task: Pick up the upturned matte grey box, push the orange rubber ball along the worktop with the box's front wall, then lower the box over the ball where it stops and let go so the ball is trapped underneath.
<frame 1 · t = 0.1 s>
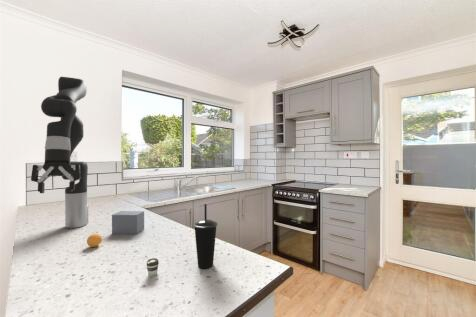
hand: (56, 192, 82), 22 cm above the counter, tool pointing down, fingers open, 8 cm apart
matte grey box: (128, 231, 105), on the counter
ball: (94, 240, 87), on the counter
drinking cup: (205, 266, 71), on the counter
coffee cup: (152, 277, 66), on the counter
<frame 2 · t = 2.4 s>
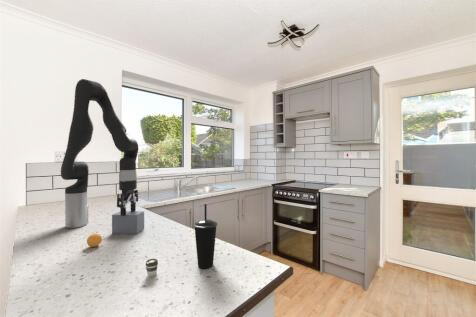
hand: (128, 213, 104), 9 cm above the counter, tool pointing down, fingers open, 8 cm apart
matte grey box: (128, 231, 105), on the counter, touching gripper
everything else where it was.
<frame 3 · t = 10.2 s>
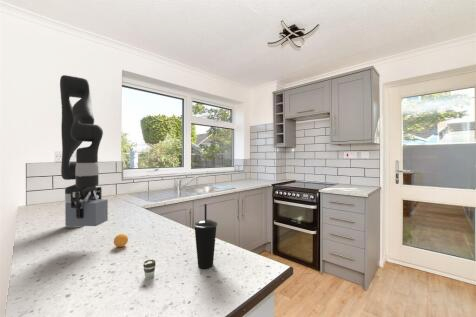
hand: (87, 215, 87), 12 cm above the counter, tool pointing down, fingers closed on matte grey box, 7 cm apart
matte grey box: (87, 223, 87), point 9 cm above the counter, touching gripper
ball: (120, 240, 86), on the counter
when the fingers open (3 cm above the counter, at t = 15.4 s): matte grey box stays where it is, on the counter.
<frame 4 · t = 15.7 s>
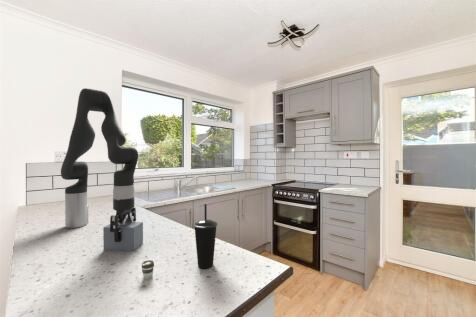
hand: (124, 237, 86), 4 cm above the counter, tool pointing down, fingers open, 8 cm apart
matte grey box: (124, 246, 86), on the counter
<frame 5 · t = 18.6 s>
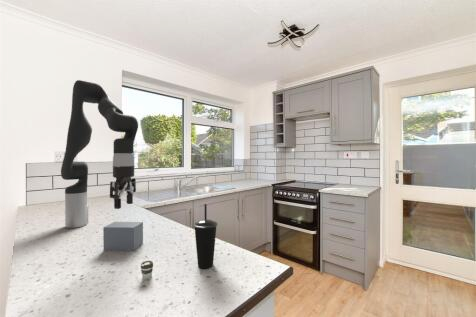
hand: (123, 206, 86), 16 cm above the counter, tool pointing down, fingers open, 8 cm apart
at the end: ball 1.3 cm from the matte grey box (horizontally); matte grey box on the counter; ball moved 10.6 cm from its start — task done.
